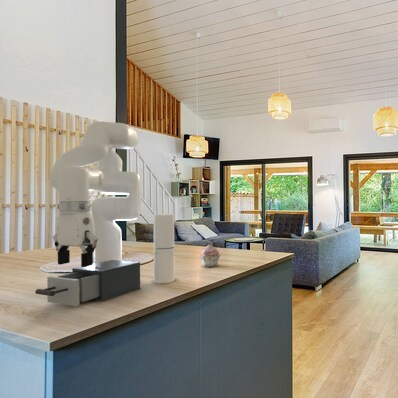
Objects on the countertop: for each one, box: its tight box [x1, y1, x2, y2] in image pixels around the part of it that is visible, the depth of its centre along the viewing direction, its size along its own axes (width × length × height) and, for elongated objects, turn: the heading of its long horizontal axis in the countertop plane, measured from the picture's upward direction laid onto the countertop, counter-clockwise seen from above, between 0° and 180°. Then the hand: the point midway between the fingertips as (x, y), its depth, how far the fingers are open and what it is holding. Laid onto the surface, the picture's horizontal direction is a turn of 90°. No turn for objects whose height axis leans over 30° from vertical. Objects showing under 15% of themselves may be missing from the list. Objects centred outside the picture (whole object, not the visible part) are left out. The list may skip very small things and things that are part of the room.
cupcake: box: [199, 243, 221, 268], centre depth 147 cm, size 9×9×10 cm
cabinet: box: [71, 260, 141, 302], centre depth 107 cm, size 15×13×9 cm
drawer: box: [35, 272, 100, 307], centre depth 96 cm, size 18×11×7 cm, turn 161°
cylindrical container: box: [153, 213, 175, 284], centre depth 121 cm, size 7×7×25 cm
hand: (75, 264), depth 97 cm, fingers open, 9 cm apart
